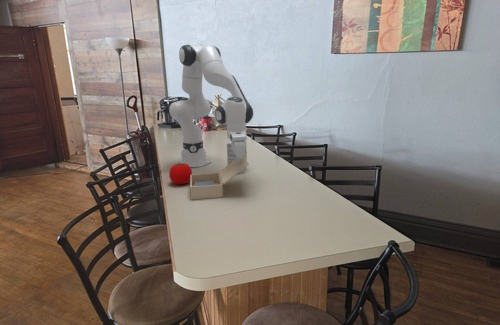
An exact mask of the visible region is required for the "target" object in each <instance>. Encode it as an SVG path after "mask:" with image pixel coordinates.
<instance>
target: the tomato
mask: <svg viewBox="0 0 500 325" xmlns="http://www.w3.org/2000/svg"><path fill="white" fill-rule="evenodd" d="M168 173H169V174H168V175H169V179H170V181H171V182H172V183H173V184H175V185H186V184H188V183H189V182H190V175H193V170H192V167H190V166H189V165H188V164H185V163H181V164H180V162H179V163H177V164H176V163H175V164H173V165H172V166H171V167H170V169H169V172H168Z"/></svg>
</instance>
